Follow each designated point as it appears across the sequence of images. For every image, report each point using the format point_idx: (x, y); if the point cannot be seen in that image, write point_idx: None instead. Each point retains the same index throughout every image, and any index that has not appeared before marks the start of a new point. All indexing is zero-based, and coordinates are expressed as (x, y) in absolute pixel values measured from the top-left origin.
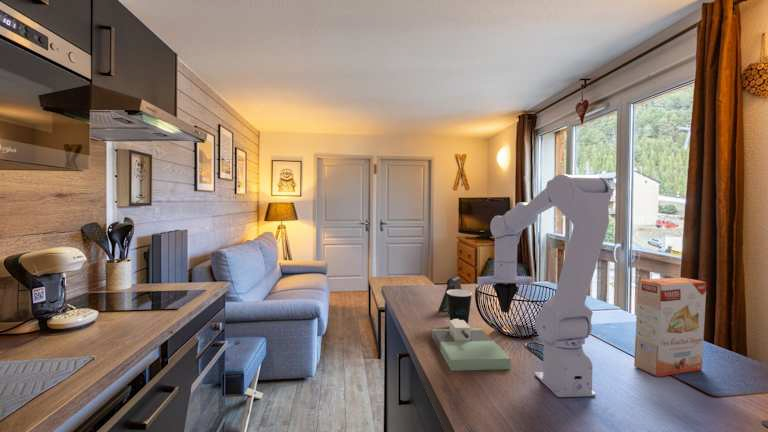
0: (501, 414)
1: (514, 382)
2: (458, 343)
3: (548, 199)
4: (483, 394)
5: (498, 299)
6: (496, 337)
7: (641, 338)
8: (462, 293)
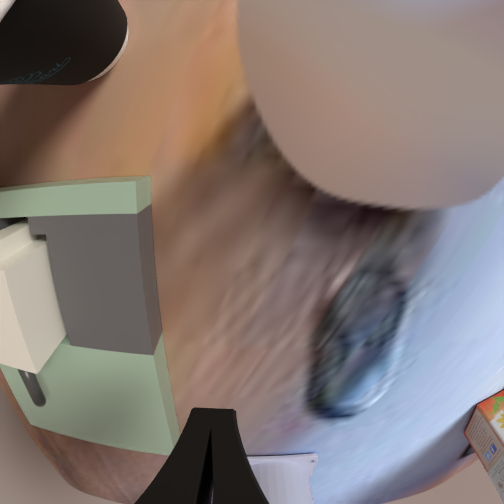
0: (126, 496)
1: None
2: None
3: None
4: (104, 471)
5: (158, 474)
6: (235, 187)
7: (501, 457)
8: None
